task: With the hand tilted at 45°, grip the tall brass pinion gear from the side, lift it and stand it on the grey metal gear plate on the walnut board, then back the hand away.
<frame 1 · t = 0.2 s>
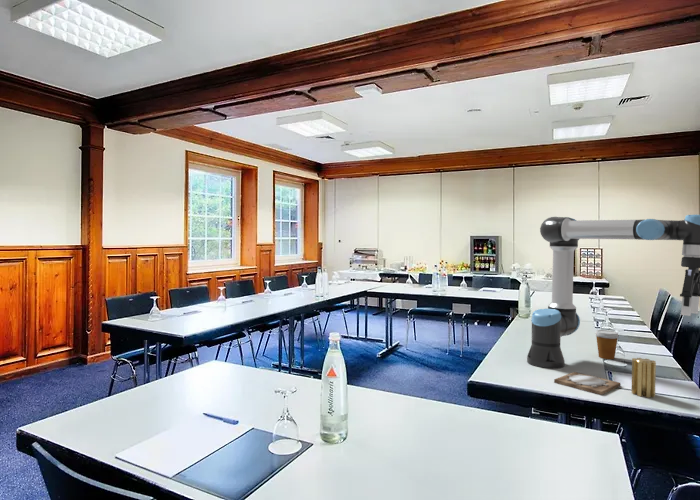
hand: (689, 314, 162), 27 cm above the table, tool pointing down, fingers open, 13 cm apart
brass pinion gear: (643, 394, 156), on the table
disposable coffee cup: (606, 358, 204), on the table
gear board: (587, 384, 167), on the table
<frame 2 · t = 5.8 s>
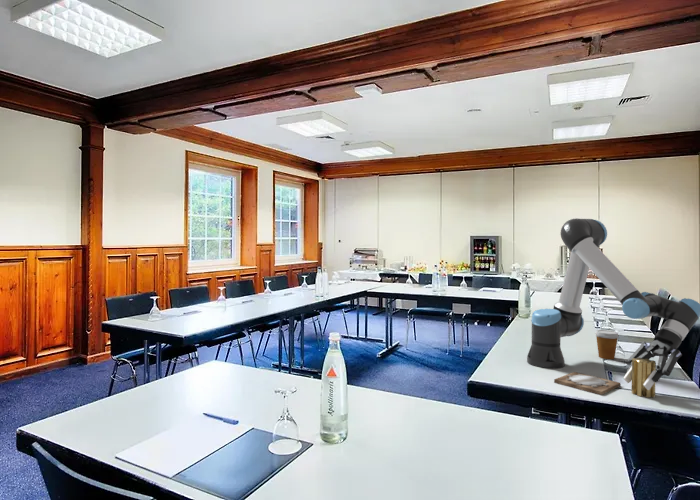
hand: (635, 383, 155), 4 cm above the table, tool tilted 45°, fingers closed on brass pinion gear, 7 cm apart
brass pinion gear: (643, 394, 156), on the table, touching gripper
everything else where it was.
when the fingers open (7 cm above the table, at t = 11.0 s): brass pinion gear drops 2 cm, resting on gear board.
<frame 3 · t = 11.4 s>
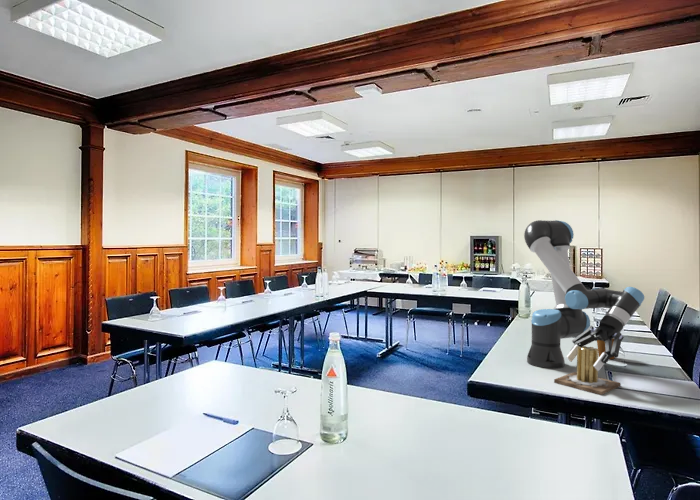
hand: (581, 363, 166), 8 cm above the table, tool tilted 45°, fingers open, 12 cm apart
brass pinion gear: (587, 380, 167), point 2 cm above the table, touching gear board
everything else where it was.
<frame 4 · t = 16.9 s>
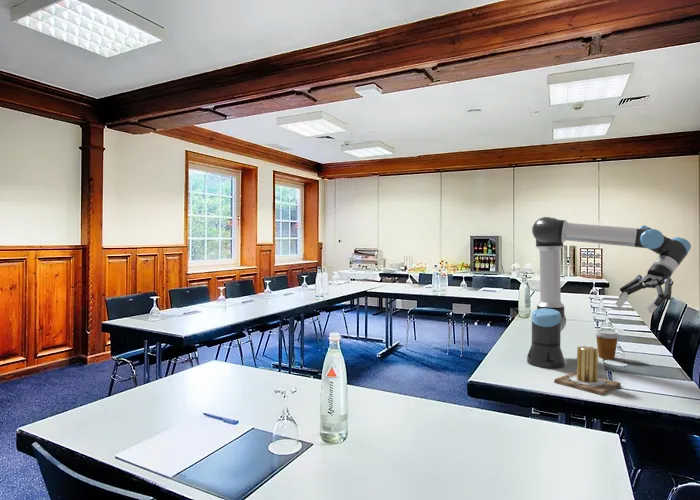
hand: (633, 308, 174), 28 cm above the table, tool tilted 45°, fingers open, 13 cm apart
nothing on the table moved.
at the end: brass pinion gear 0.0 cm off-centre on the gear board, point 1.6 cm above the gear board's base; brass pinion gear tilted 0°; the gripper is holding nothing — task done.
